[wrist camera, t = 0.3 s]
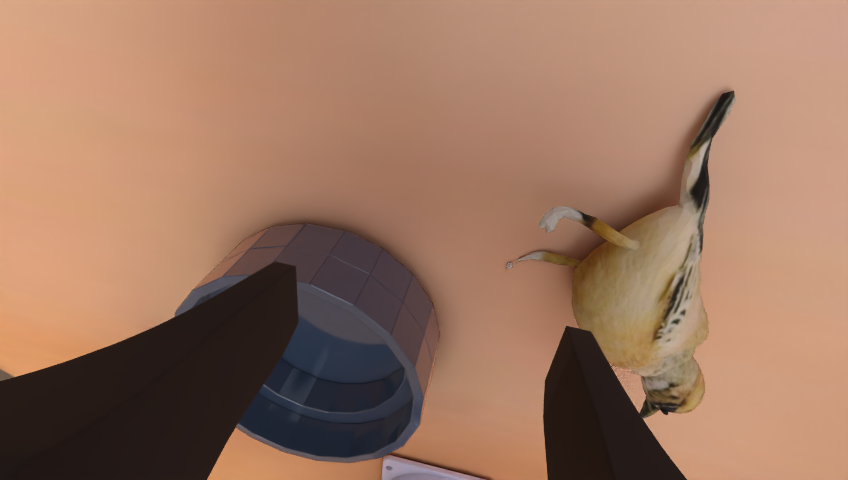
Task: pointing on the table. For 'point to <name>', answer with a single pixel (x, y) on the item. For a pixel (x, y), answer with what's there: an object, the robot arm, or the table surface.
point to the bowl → (337, 345)
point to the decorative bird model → (650, 285)
